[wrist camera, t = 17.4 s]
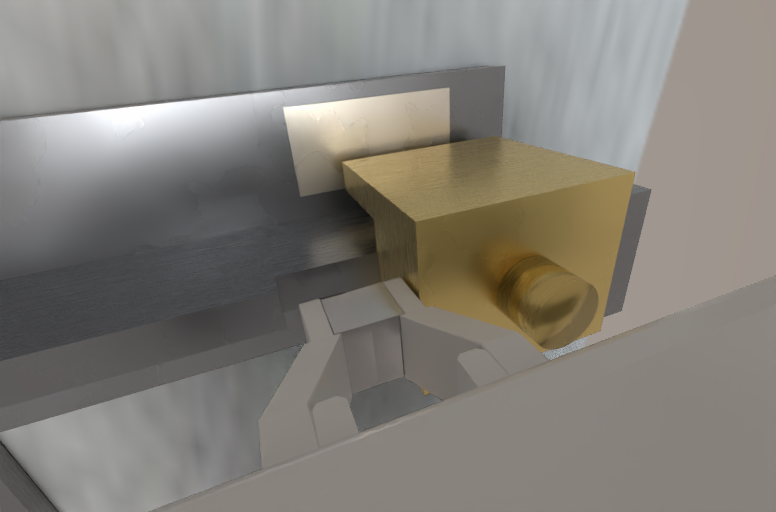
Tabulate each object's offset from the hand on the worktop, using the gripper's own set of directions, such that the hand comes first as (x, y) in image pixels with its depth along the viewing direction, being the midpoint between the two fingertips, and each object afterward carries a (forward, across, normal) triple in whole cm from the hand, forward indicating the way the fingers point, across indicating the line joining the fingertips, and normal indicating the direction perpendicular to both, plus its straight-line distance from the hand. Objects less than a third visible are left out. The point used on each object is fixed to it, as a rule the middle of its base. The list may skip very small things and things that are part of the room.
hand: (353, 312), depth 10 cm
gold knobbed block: (+5, -4, 0) cm, 6 cm away
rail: (+7, +3, 0) cm, 7 cm away
